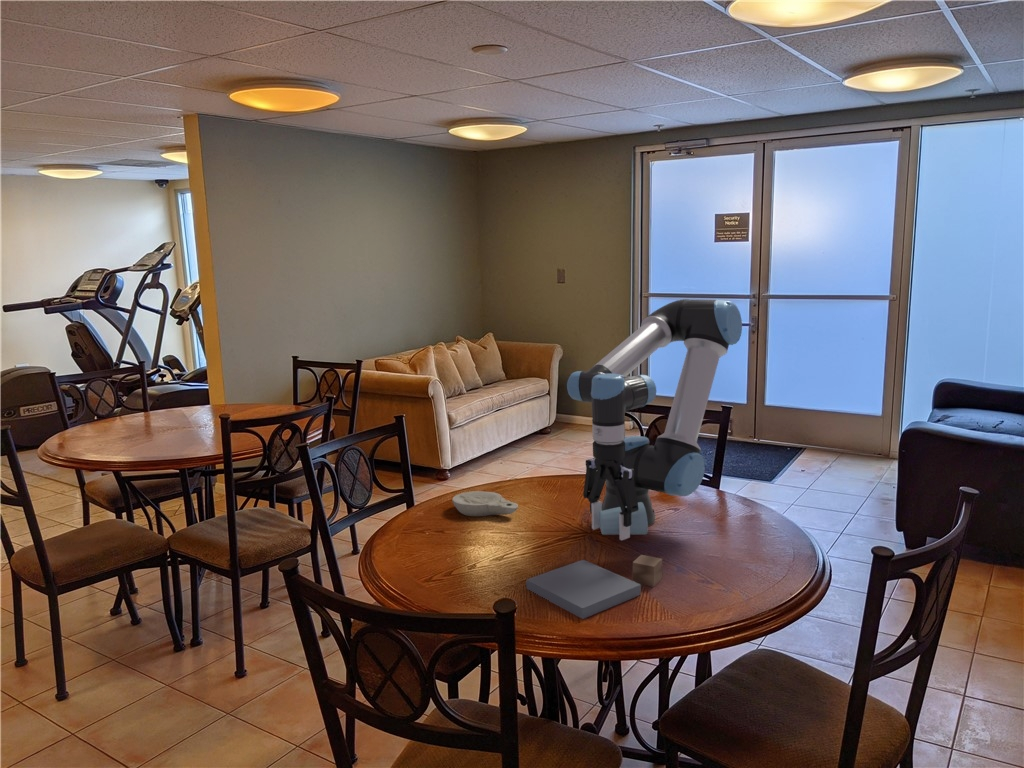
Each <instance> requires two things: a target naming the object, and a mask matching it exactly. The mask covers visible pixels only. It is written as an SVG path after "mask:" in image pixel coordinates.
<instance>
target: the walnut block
mask: <svg viewBox="0 0 1024 768" xmlns="http://www.w3.org/2000/svg"><path fill="white" fill-rule="evenodd" d="M662 579H663V558H660V557H655V556H650V555H645V554H640V555H639V556H638V557H637V558H636V559H635V560H634V561H632V581H634V582H636V583H638V584H641V585H644V586H649V587H652V588H655V586H656V585H658V583H659V582H660V581H661V580H662Z"/></svg>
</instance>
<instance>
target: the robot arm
mask: <svg viewBox="0 0 1024 768" xmlns="http://www.w3.org/2000/svg"><path fill="white" fill-rule="evenodd" d="M742 321H743V320H742V316H741V311H740V310H739V307H738V306H737V305H736V304H735V302H733V301H731V300H725V299H724V300H723V299H678V300H675V301H672V302H669V303H667V304H665V305H663V306H661V307H659V308H657V309H656V310H654V311H653V312H652V313H650V314H649V315H648V316H647V317H645V318H644V319H643V320H642V322H641V324H640V327H639V328H637V329H636V330H635V331H634V332H633V333H631V335H629V336H628V337H626V339H624V340H623V341H622V342H621V343H620V344H619V345H617V346H616V347H614V349H613V350H611V351H610V352H609V353H607V354H606V355H605V356H604V357H603V358H601V359H600V360H599V361H598V362H597V363H595V364H594V365H593V366H592V367H590V369H588V370H587V371H584V370H580V371H578V370H577V371H574V372H572V373H570V376H569V377H568V379H567V382H566V390H567V393H568V395H569V396H570V398H571V399H572V400H575V401H579V402H580V401H581V402H583V403H590V404H591V410H592V411H591V412H592V416H591V417H592V418H591V420H592V424H591V425H592V426H591V427H592V429H591V430H592V440H593V442H592V456H593V458H589V459H588V458H587V459H586V460H585V468H586V470H585V478H584V485H583V492H582V493H583V496H582V497H583V498H584V499H587V500H588V502H589V511H590V512H589V513H590V515H591V530H597V529H600V524H599V512H600V511H603V510H608V509H612V508H617V507H620V508H621V511H622V512H620V513H619V535H618V536H619V537H618V538H619V541H625V540H627V539H630V538H631V534H630V526H631V524H632V521H631V513H632V512H635V511H638V509H639V508H638V503H639V502H642V503H643V504H644V507H645V510H646V515H647V522H648V527H650V526H652V525H653V524H654V523H655V522H656V513H655V509H654V508H653V505H652V501H651V497H650V493H649V491H654V492H659V493H663V494H667V495H669V496H678V497H688V496H690V495H692V494H693V493H694V492H695V491H697V489H699V486H700V485H701V483H702V481H703V479H704V476H705V469H706V468H705V465H706V464H705V459H704V456H703V455H701V450H702V449H701V447H700V446H699V444H698V439H699V438H698V437H699V436H700V435H699V434H700V431H701V427H702V423H703V419H704V416H705V413H706V410H707V405H708V400H709V397H710V395H711V389H712V386H713V383H714V380H715V375H716V372H717V368H718V364H719V361H720V358H721V357H723V356H725V355H727V353H728V349H729V346H733V345H736V344H737V343H738V342H739V341H740V339H741V336H742V332H743V322H742ZM673 342H683V344H684V346H685V348H686V350H687V352H686V354H685V358H684V361H683V364H682V369H681V373H680V376H679V379H678V382H677V387H676V390H675V392H674V393H675V394H674V396H673V397H674V398H673V401H672V405H671V409H670V411H669V414H668V418H667V423H666V426H665V428H664V433H662V434H660V435H658V436H656V439H655V444H654V445H652V444H651V445H650V440H649V438H648V437H647V436H641V435H639V436H636V435H635V436H626V429H625V428H626V424H625V422H626V419H625V418H626V417H625V414H626V413H625V412H628V411H630V410H631V411H632V410H634V409H638V408H643V407H645V406H646V405H648V404H651V403H653V401H654V400H655V398H656V397H657V386H656V383H655V381H654V380H653V379H652V377H650V376H649V375H646V374H634V375H633V376H629V374H631V373H632V372H633V371H634V370H635V369H636V368H638V367H639V365H641V364H642V363H643V362H644V361H645V360H646V359H648V358H649V357H650V356H652V354H653V353H655V352H656V351H657V350H658V349H660V348H665V347H667V346H668V345H669V344H671V343H673ZM604 486H605V494H604V497H603V500H602V497H601V494H602V491H603V489H604ZM601 500H602V501H601ZM626 506H627V508H626Z"/></svg>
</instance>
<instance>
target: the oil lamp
mask: <svg viewBox="0 0 1024 768" xmlns="http://www.w3.org/2000/svg"><path fill="white" fill-rule="evenodd" d="M451 501H452V503H453V506H454V507H455V508H456V510H457V511H458V512H459V513H460V514H462V515H465V516H467V517H487V516H495V515H496V516H497V515H499V516H500V515H502V516H503V515H511V514H514V513H515V512H516V511H517V510H518V508H519V504H517V503H516V502H514V501H510V500H507V499H506V498H505V497H503V496H502V495H501V494H500V493H498V492H493V491H484V490H483V491H481V490H472V491H466V492H461V493H459V494H458V493H457V494H456V495H454V496H453V497H452V500H451Z"/></svg>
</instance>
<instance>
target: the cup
mask: <svg viewBox="0 0 1024 768" xmlns="http://www.w3.org/2000/svg"><path fill="white" fill-rule="evenodd" d="M626 508H627V506H626ZM638 508H639V509H638V511H635V512H632V513H631V521H632V524H631V526H630V535H648V531H649V526H648V522H647V515H646V510H645V507H644V504H643V503H642V502H639V503H638ZM620 512H622V511H621V508H620V507H617V508H612V509H608V510H603V511H600V512H599V524H600V528H599V529H600V532H601V534H602V535H605V536H606V535H607V536H609V535H611V536H612V535H614V536H615V535H618V536H619V513H620Z"/></svg>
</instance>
